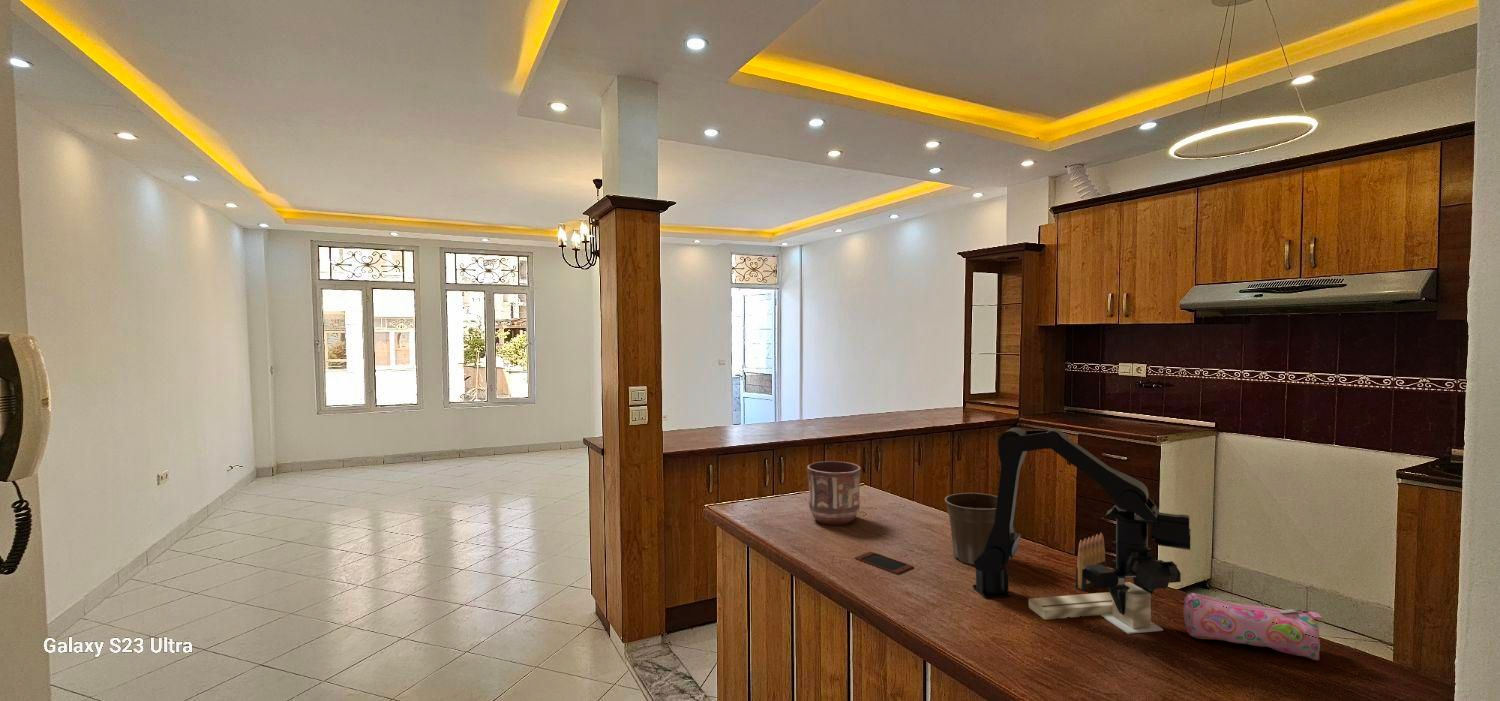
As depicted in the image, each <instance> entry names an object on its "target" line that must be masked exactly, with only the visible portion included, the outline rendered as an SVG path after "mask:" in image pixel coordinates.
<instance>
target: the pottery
mask: <svg viewBox="0 0 1500 701" xmlns="http://www.w3.org/2000/svg"><path fill="white" fill-rule="evenodd" d="M806 472H807V477H808V478H807V481H808V506H809V511H810V512H811V514H812V516H813V518H814V519H815V520H816V521H817V522H819V523H820V524H822V523H823V525H827V524H829V526H843V525H844V524H845V525H848V524H850V523H851V522H853V520H854V519H855V518H856V517H857V516H858V513H859V511H860V506H861V500H860V498H861V496H860V489H861V488H860V487H861V486H860V485H861V475H862V467H861V466H860V465H858V464H856V463H853V462H846V461H836V460H824V461H823V460H822V461H817V462H813V463H810V464H808V465H807V466H806Z"/></svg>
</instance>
